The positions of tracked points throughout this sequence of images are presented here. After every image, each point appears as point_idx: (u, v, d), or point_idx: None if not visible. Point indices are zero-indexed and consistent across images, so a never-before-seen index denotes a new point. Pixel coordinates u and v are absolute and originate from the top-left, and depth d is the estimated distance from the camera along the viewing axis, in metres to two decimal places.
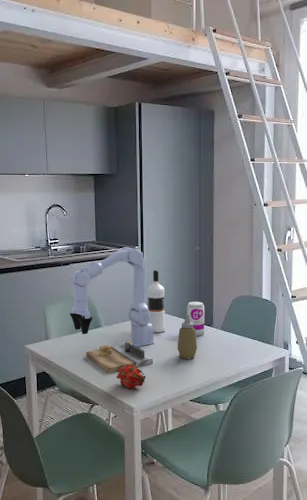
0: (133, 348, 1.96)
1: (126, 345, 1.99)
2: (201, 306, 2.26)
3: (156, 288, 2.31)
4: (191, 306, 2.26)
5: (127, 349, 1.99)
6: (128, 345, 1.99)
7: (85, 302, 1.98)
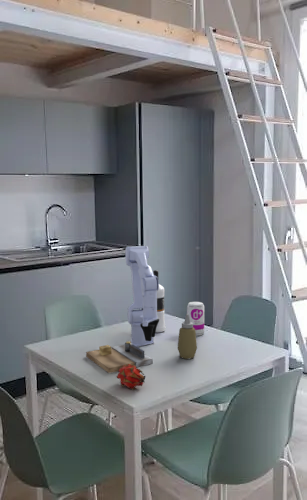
0: (133, 348, 1.96)
1: (126, 345, 1.99)
2: (201, 306, 2.26)
3: None
4: (191, 306, 2.26)
5: (127, 349, 1.99)
6: (128, 345, 1.99)
7: (150, 309, 1.92)
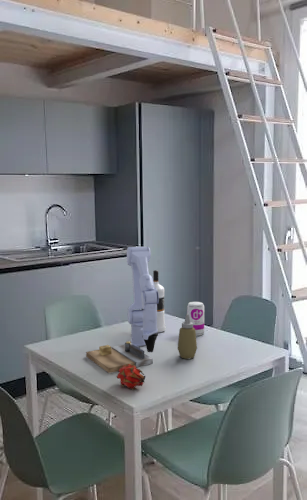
0: (133, 348, 1.96)
1: (126, 345, 1.99)
2: (201, 306, 2.26)
3: (156, 288, 2.31)
4: (191, 306, 2.26)
5: (127, 349, 1.99)
6: (128, 345, 1.99)
7: (150, 322, 1.93)
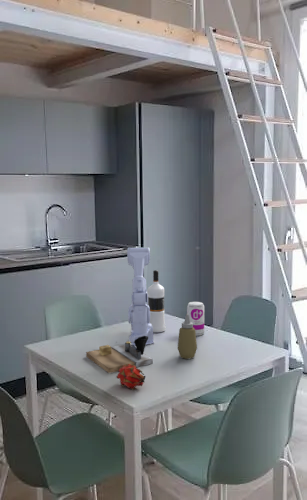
0: (131, 348, 1.95)
1: (126, 345, 1.99)
2: (201, 306, 2.26)
3: (156, 288, 2.31)
4: (191, 306, 2.26)
5: (127, 349, 1.99)
6: (127, 345, 1.99)
7: (139, 325, 1.90)
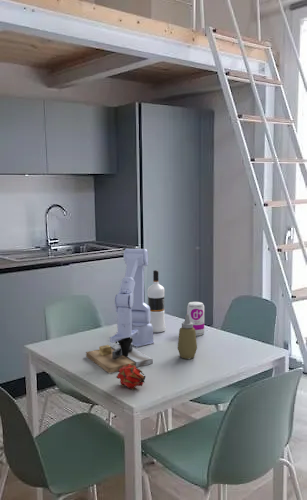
0: None
1: None
2: (201, 306, 2.26)
3: (156, 288, 2.31)
4: (191, 306, 2.26)
5: None
6: None
7: (121, 326, 1.89)
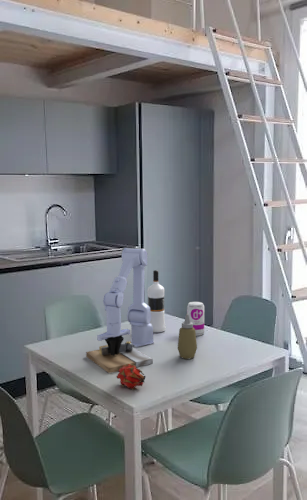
0: None
1: None
2: (201, 306, 2.26)
3: (156, 288, 2.31)
4: (191, 306, 2.26)
5: None
6: None
7: (109, 325, 1.91)
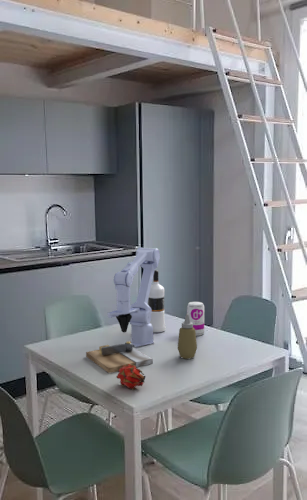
0: None
1: None
2: (201, 306, 2.26)
3: (156, 288, 2.31)
4: (191, 306, 2.26)
5: None
6: None
7: (119, 303, 1.99)
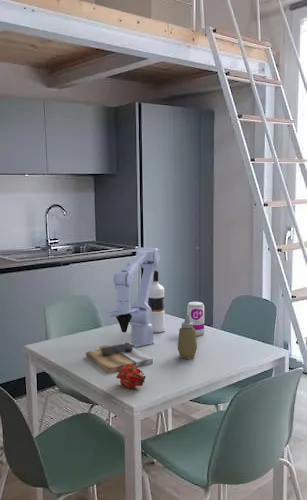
0: None
1: None
2: (201, 306, 2.26)
3: (156, 288, 2.31)
4: (191, 306, 2.26)
5: None
6: None
7: (119, 303, 1.99)
